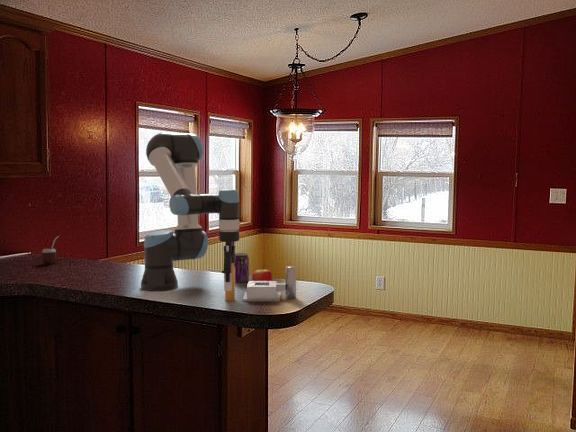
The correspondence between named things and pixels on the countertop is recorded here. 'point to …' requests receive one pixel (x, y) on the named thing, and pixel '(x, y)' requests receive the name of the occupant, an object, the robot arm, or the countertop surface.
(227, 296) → the orange rectangular block
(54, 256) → the mate gourd
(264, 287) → the white block with post
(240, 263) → the beverage can
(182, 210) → the robot arm
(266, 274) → the apple
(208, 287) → the countertop surface
